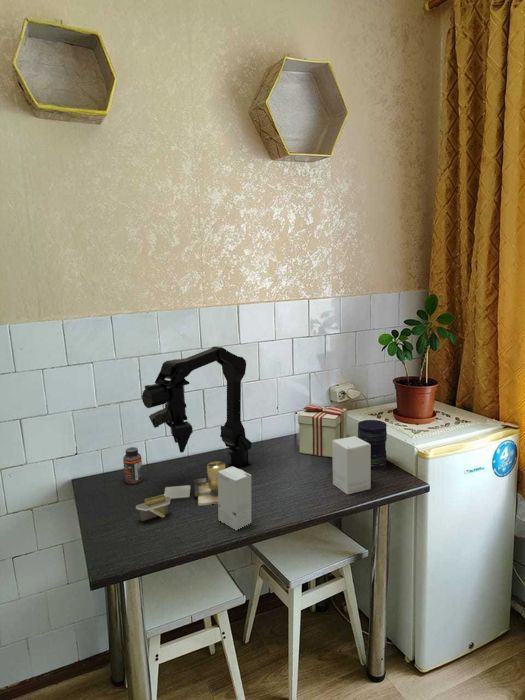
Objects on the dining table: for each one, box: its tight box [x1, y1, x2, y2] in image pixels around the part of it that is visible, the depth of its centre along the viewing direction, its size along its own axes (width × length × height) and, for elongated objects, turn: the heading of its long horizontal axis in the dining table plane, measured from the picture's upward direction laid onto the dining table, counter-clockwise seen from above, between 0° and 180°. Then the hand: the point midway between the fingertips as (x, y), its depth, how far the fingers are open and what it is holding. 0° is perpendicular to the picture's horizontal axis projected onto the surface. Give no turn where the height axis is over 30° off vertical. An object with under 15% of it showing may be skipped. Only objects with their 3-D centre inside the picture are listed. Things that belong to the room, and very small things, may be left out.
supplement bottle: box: [122, 446, 144, 485], centre depth 168 cm, size 6×6×11 cm
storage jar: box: [357, 419, 388, 472], centre depth 173 cm, size 10×10×15 cm
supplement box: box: [332, 435, 372, 495], centre depth 157 cm, size 9×9×15 cm
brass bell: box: [200, 460, 226, 490], centre depth 155 cm, size 10×6×7 cm, turn 96°
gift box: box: [297, 403, 348, 458], centre depth 191 cm, size 17×18×17 cm
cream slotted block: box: [193, 477, 218, 507], centre depth 156 cm, size 14×12×5 cm
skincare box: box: [217, 466, 252, 531], centre depth 138 cm, size 8×6×15 cm
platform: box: [135, 494, 171, 522], centre depth 143 cm, size 12×18×7 cm, turn 121°
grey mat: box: [164, 484, 191, 500], centre depth 159 cm, size 8×8×1 cm
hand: (179, 447), depth 160 cm, fingers open, 9 cm apart
